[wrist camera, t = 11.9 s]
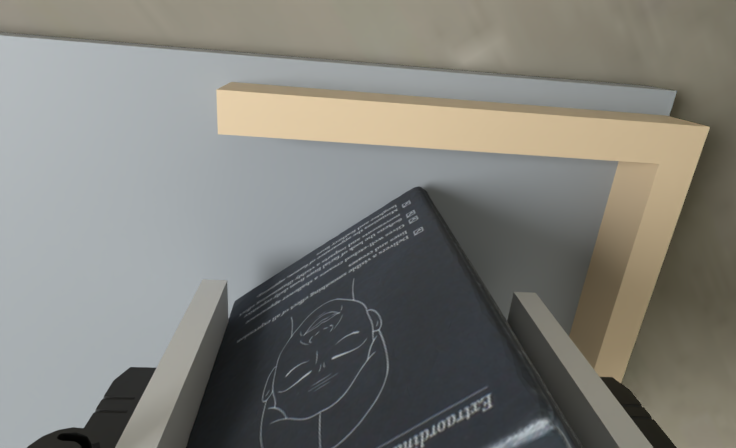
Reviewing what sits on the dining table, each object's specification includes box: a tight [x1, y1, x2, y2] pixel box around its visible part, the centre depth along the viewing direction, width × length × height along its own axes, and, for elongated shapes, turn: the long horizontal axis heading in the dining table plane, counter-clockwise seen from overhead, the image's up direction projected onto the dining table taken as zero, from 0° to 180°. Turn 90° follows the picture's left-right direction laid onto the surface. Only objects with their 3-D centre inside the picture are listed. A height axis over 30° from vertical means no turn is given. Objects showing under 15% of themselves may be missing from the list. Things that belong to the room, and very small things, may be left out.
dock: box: [0, 32, 710, 448], centre depth 17 cm, size 24×16×4 cm, turn 85°
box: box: [186, 187, 584, 448], centre depth 13 cm, size 8×6×11 cm
